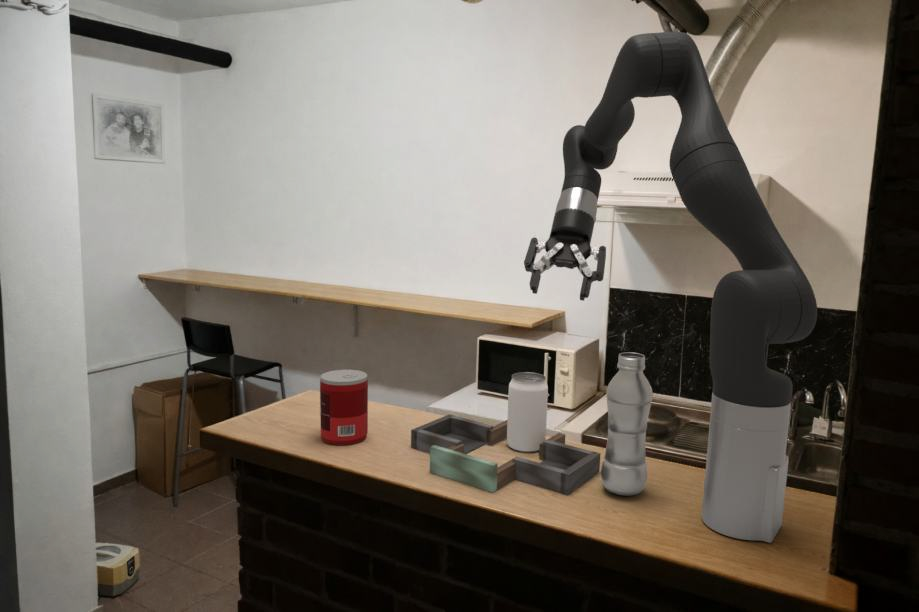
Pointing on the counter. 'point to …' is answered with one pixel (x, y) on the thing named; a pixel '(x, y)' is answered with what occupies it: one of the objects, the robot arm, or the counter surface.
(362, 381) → the canned food
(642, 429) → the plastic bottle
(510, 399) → the can
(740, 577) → the counter surface
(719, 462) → the robot arm
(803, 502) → the counter surface
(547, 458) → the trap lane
